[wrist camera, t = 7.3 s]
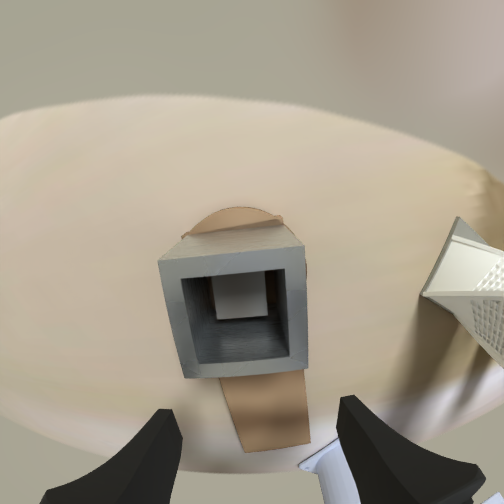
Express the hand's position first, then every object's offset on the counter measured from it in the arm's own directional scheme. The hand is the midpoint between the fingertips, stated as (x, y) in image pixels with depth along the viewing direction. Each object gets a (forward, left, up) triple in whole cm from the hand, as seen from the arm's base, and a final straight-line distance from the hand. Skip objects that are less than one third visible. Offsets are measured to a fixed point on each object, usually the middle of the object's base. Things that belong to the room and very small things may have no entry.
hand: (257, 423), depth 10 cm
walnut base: (-2, +2, -9) cm, 10 cm away
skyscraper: (-11, -13, -9) cm, 20 cm away
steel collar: (+3, -3, -8) cm, 9 cm away
